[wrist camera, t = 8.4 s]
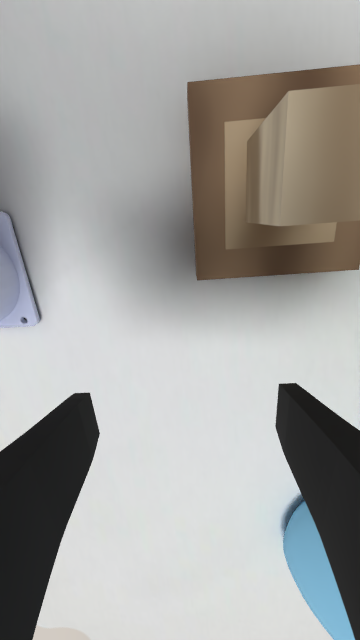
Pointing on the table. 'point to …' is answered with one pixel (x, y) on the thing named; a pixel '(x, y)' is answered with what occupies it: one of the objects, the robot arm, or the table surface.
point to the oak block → (306, 159)
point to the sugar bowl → (315, 573)
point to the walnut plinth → (230, 182)
